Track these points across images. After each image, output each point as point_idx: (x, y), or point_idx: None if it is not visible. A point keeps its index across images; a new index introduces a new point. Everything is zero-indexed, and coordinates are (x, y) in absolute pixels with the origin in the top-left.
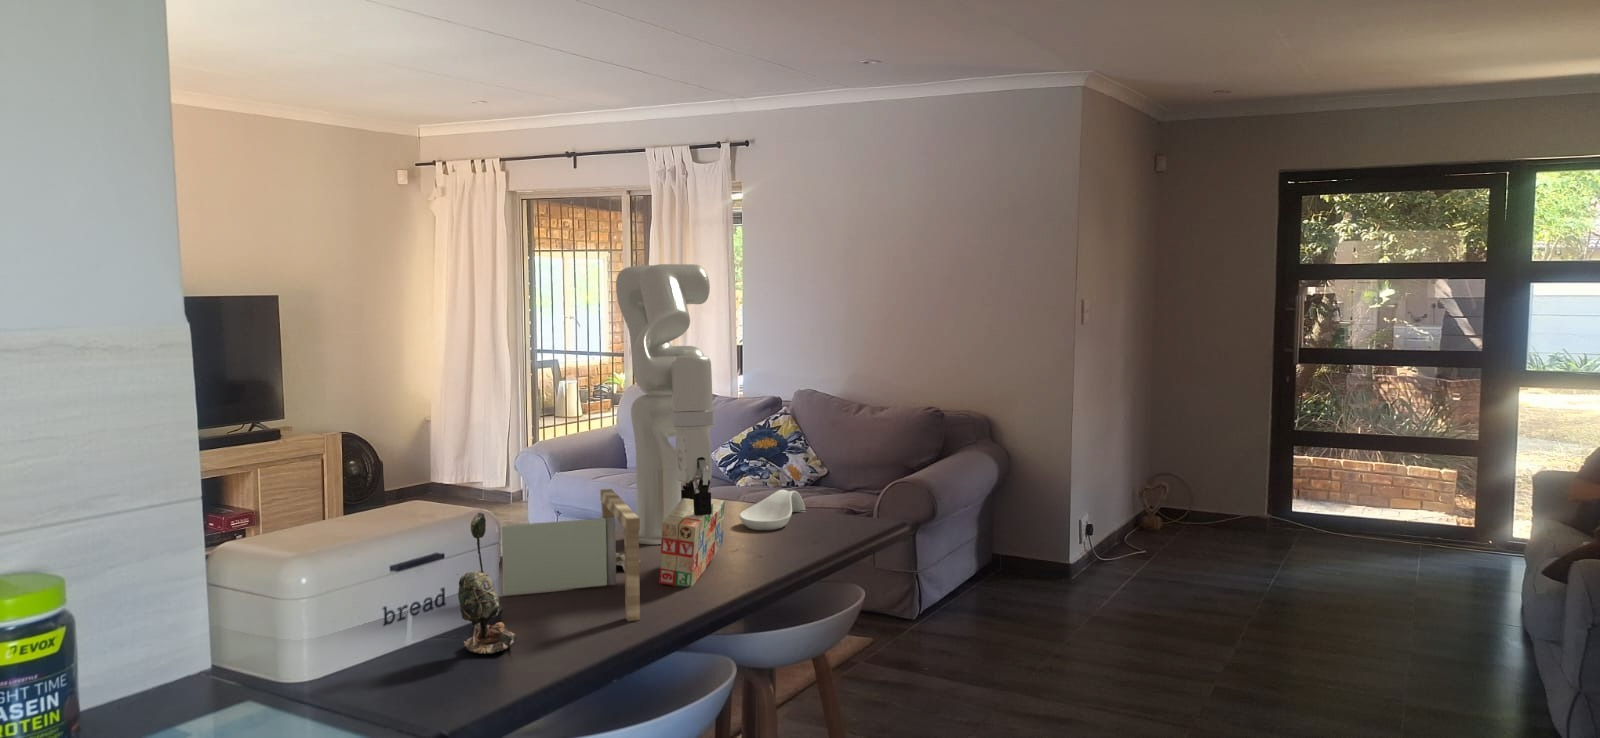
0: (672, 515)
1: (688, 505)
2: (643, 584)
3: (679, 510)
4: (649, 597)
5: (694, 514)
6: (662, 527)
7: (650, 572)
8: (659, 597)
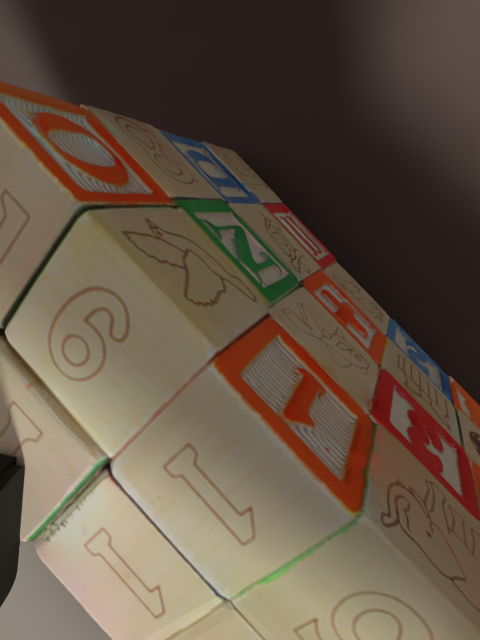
0: (63, 253)
1: (249, 563)
2: (294, 95)
3: (163, 399)
4: (83, 30)
5: (9, 455)
6: (14, 87)
7: (475, 218)
8: (65, 72)
